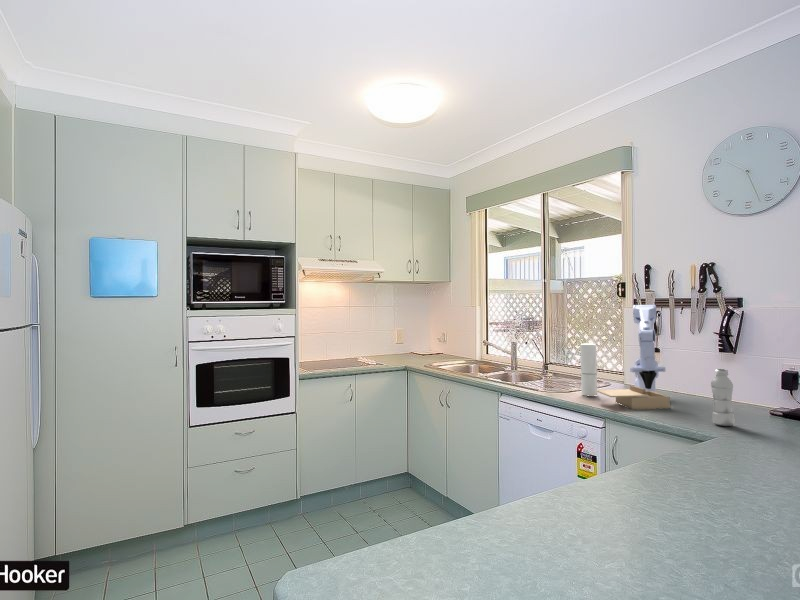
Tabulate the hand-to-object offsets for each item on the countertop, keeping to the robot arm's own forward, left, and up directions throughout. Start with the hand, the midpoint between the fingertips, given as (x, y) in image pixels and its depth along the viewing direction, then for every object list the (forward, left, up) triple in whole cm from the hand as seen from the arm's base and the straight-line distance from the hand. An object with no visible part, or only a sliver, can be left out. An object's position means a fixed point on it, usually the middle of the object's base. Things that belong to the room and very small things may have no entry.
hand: (648, 388), depth 198 cm
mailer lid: (0, -12, -2) cm, 12 cm away
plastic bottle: (+35, +7, -8) cm, 37 cm away
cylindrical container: (-25, -15, -8) cm, 30 cm away
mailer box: (0, -3, -7) cm, 8 cm away
